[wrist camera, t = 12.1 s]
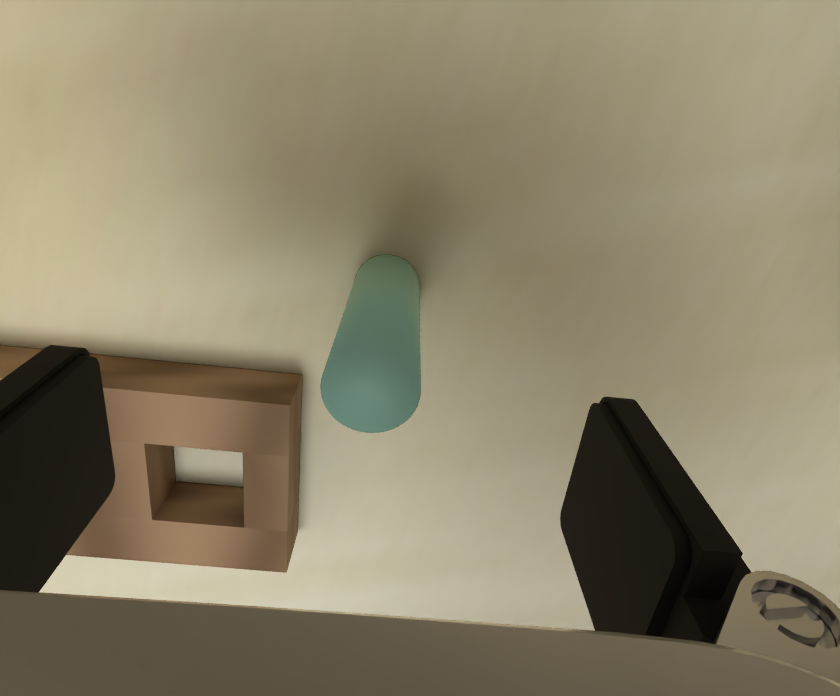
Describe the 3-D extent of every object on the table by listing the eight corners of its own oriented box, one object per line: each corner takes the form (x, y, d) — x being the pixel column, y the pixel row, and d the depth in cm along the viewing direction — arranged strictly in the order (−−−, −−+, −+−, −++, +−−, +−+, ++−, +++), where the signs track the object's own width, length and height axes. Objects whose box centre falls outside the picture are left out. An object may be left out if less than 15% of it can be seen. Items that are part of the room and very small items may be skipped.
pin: (423, 258, 20) (426, 350, 13) (416, 320, 21) (415, 436, 14) (356, 251, 20) (322, 339, 13) (352, 313, 21) (318, 428, 14)
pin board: (302, 374, 22) (290, 405, 20) (297, 531, 26) (286, 572, 23) (-65, 338, 22) (-120, 366, 19) (-22, 504, 25) (-64, 544, 23)
